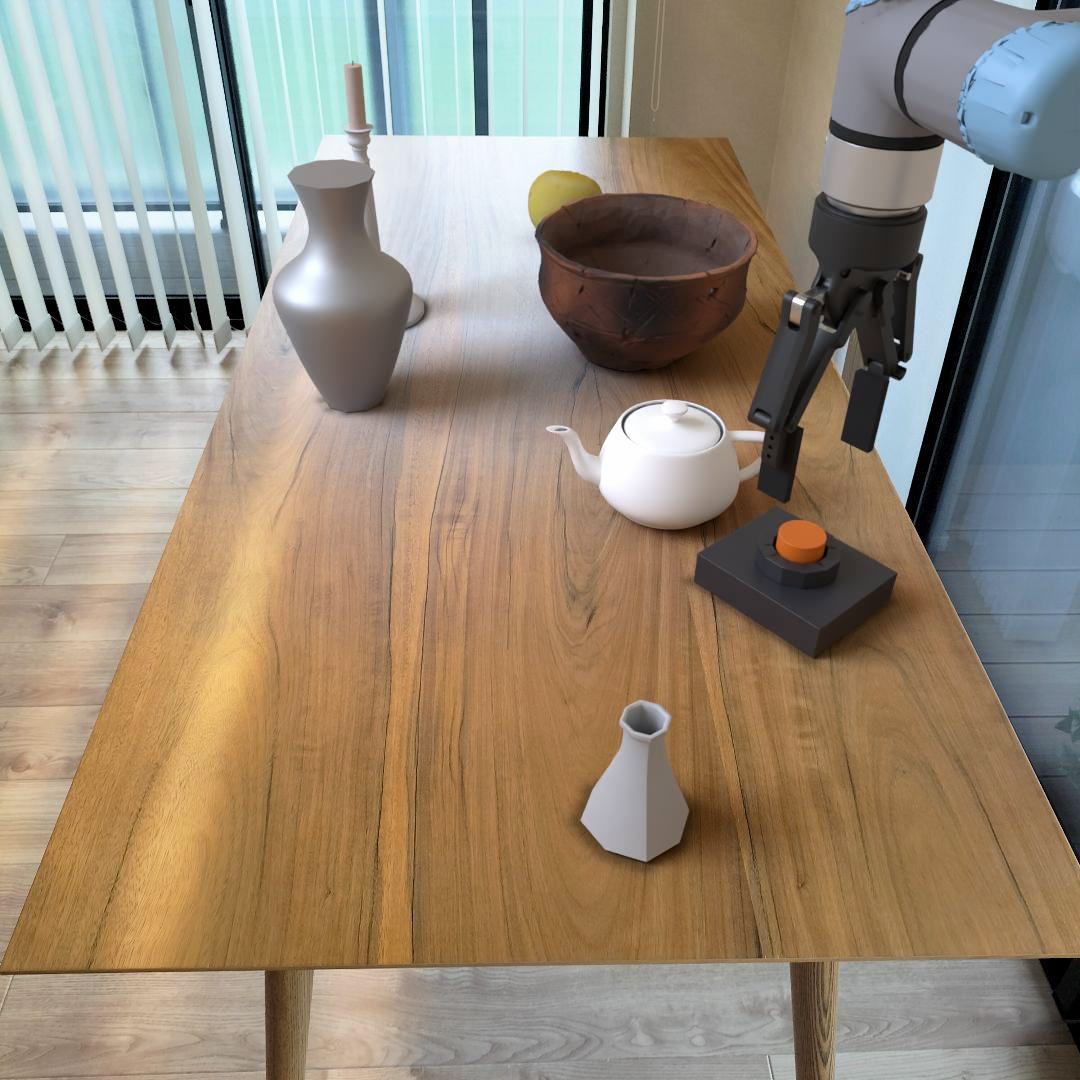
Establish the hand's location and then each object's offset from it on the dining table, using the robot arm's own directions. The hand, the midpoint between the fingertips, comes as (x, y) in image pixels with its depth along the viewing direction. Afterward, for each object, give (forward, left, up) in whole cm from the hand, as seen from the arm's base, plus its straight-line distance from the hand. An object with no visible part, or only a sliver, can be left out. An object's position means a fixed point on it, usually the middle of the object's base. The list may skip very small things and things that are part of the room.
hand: (816, 469), depth 87 cm
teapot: (+17, -1, -13) cm, 21 cm away
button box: (0, 0, -13) cm, 13 cm away
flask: (-8, +28, -13) cm, 32 cm away
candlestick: (+69, -4, -13) cm, 70 cm away
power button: (0, 0, -8) cm, 8 cm away
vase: (+53, +10, -13) cm, 55 cm away
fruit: (+71, -39, -13) cm, 82 cm away
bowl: (+40, -22, -13) cm, 47 cm away
